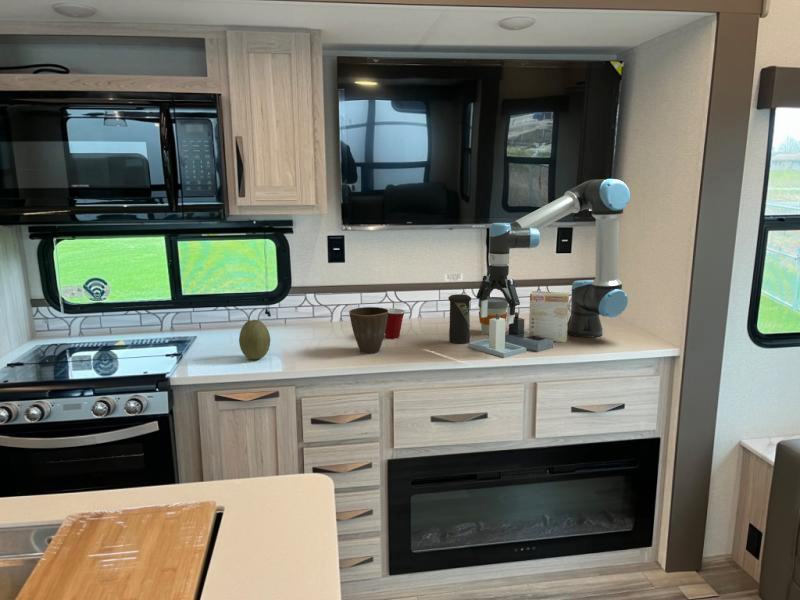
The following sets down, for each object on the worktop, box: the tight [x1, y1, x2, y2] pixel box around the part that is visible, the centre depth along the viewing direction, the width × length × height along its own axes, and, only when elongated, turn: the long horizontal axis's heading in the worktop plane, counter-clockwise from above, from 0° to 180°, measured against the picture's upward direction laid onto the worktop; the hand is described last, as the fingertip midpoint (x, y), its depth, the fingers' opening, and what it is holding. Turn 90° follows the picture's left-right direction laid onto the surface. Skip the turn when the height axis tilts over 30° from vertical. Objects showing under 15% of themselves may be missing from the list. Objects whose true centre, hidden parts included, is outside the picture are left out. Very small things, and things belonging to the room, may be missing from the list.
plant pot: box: [348, 306, 388, 355], centre depth 229 cm, size 15×15×16 cm
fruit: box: [238, 319, 271, 361], centre depth 220 cm, size 11×11×15 cm
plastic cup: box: [384, 307, 406, 340], centre depth 250 cm, size 11×11×12 cm
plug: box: [488, 314, 507, 351], centre depth 226 cm, size 5×4×14 cm
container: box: [447, 293, 472, 345], centre depth 238 cm, size 9×9×20 cm
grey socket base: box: [505, 311, 554, 353], centre depth 233 cm, size 9×20×13 cm, turn 37°
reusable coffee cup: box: [477, 296, 509, 336], centre depth 254 cm, size 13×13×15 cm
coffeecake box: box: [528, 290, 570, 343], centre depth 244 cm, size 15×7×20 cm, turn 70°
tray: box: [467, 337, 528, 359], centre depth 228 cm, size 12×19×2 cm, turn 37°
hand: (496, 320), depth 225 cm, fingers open, 13 cm apart
